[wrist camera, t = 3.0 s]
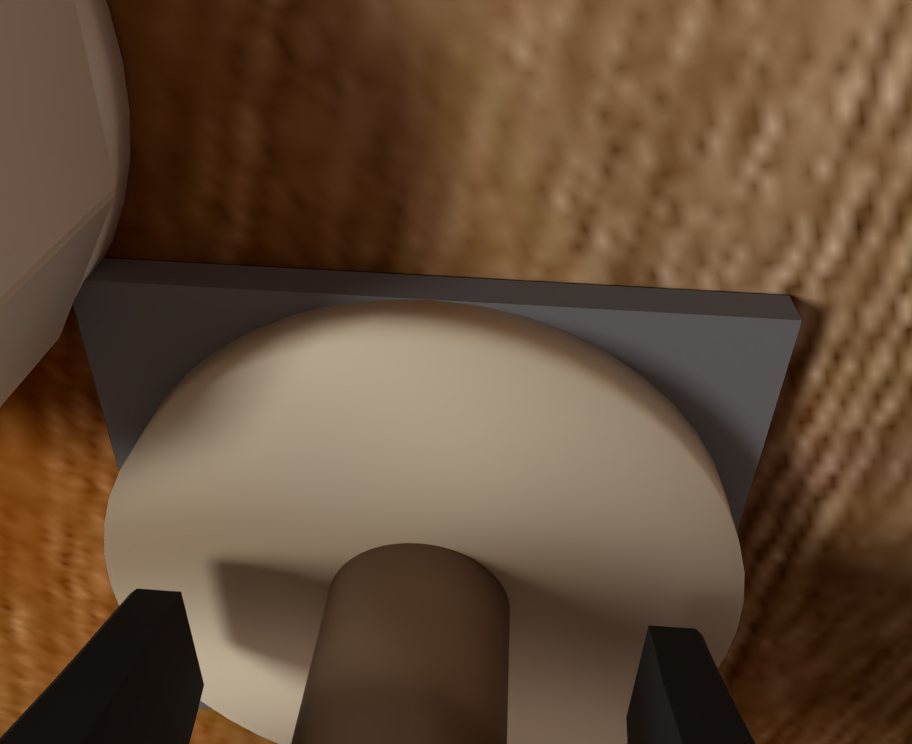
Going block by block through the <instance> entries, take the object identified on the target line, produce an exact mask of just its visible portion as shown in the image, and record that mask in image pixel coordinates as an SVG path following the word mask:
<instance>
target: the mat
mask: <svg viewBox="0 0 912 744" xmlns="http://www.w3.org/2000/svg"><path fill="white" fill-rule="evenodd" d="M380 299H428V300H437V301H445V302H454V303H463V304H471V305H478V306H482V307H487V308H491V309H495V310H500V311H504V312H508V313H512V314H517V315H521V316H524V317H527V318H530V319H533V320H536V321H538V322H541V323H544V324H547V325H550V326H552V327H555V328H558V329H561V330H563V331H566V332H568V333H570V334H572V335H574V336H576V337H578V338H580V339H582V340H584V341H586V342H588V343H590V344H592V345H594V346H596V347H598V348H600V349H602V350H604V351H606V352H608V353H610V354H611V355H612V356H614V357H615V358H617V359H618V360H620V361H621V362H623V363H624V364H626V365H627V366H629V367H630V368H632V369H633V370H635V371H636V372H638V373H639V374H641V375H642V376H643V377H645V378H646V379H647V380H648V381H649V382H650V383H651V384H652V385H654V386H655V387H656V388H657V389H658V390H659V391H660V392H661V393H662V394H664V395H665V396H666V397H667V398H668V399H669V400H670V401H671V402H672V403H673V404H674V405H675V406H676V407H677V409H678V410H679V411H680V412H681V413H682V415H683V416H684V417H685V418H686V419H687V421H688V422H689V423H690V424H691V425H692V427H693V428H694V429H695V430H696V432H697V433H698V435H699V437H700V438H701V440H702V442H703V444H704V445H705V447H706V449H707V450H708V452H709V454H710V455H711V457H712V459H713V461H714V463H715V466H716V469H717V471H718V474H719V477H720V479H721V482H722V485H723V487H724V490H725V493H726V497H727V500H728V504H729V507H730V511H731V515H732V518H733V522H734V525H735V529H736V532H737V531H738V528H739V525H740V522H741V518H742V515H743V512H744V508H745V505H746V502H747V499H748V495H749V492H750V489H751V486H752V482H753V479H754V476H755V473H756V469H757V466H758V463H759V459H760V456H761V453H762V450H763V446H764V443H765V440H766V437H767V433H768V430H769V427H770V424H771V420H772V417H773V414H774V410H775V407H776V404H777V401H778V397H779V394H780V391H781V388H782V384H783V381H784V378H785V375H786V371H787V368H788V365H789V361H790V358H791V355H792V352H793V348H794V345H795V342H796V339H797V335H798V332H799V329H800V326H801V322H802V319H801V317H800V315H799V314H798V312H797V310H796V308H795V306H794V304H793V302H792V300H791V298H790V296H788V295H770V294H752V293H733V292H715V291H697V290H679V289H660V288H642V287H624V286H606V285H587V284H569V283H551V282H532V281H514V280H496V279H478V278H459V277H441V276H423V275H404V274H386V273H368V272H350V271H331V270H313V269H295V268H277V267H258V266H240V265H222V264H203V263H185V262H167V261H149V260H130V259H112V258H104V259H103V260H102V261H101V262H100V263H99V264H98V265H97V267H96V268H95V269H94V270H93V271H92V272H91V273H90V274H89V275H88V277H87V278H86V279H85V280H84V282H83V284H82V286H81V288H80V290H79V292H78V294H77V296H76V297H75V299H74V302H73V306H74V310H75V314H76V317H77V321H78V325H79V328H80V332H81V335H82V339H83V343H84V346H85V350H86V354H87V357H88V361H89V364H90V368H91V372H92V375H93V379H94V383H95V386H96V390H97V393H98V397H99V401H100V404H101V408H102V412H103V415H104V419H105V422H106V426H107V430H108V433H109V437H110V441H111V444H112V448H113V451H114V455H115V459H116V462H117V466H118V470H119V471H120V469H121V468H122V466H123V464H124V463H125V461H126V459H127V458H128V456H129V454H130V453H131V451H132V449H133V448H134V446H135V444H136V443H137V441H138V439H139V438H140V436H141V434H142V433H143V431H144V429H145V428H146V426H147V424H148V423H149V421H150V420H151V418H152V417H153V415H154V413H155V412H156V410H157V409H158V407H159V406H160V404H161V402H162V401H163V399H164V398H165V396H166V395H167V394H168V393H169V392H170V391H171V390H172V389H173V388H174V387H175V386H176V384H177V383H178V382H179V381H180V380H181V379H182V378H183V377H184V376H185V375H186V374H187V373H188V372H189V371H190V370H191V369H193V368H194V367H195V366H196V365H198V364H199V363H200V362H202V361H203V360H204V359H205V358H207V357H208V356H209V355H211V354H212V353H213V352H214V351H216V350H217V349H219V348H221V347H222V346H224V345H226V344H228V343H230V342H231V341H233V340H235V339H237V338H239V337H240V336H242V335H244V334H246V333H248V332H249V331H251V330H254V329H256V328H259V327H262V326H264V325H267V324H269V323H272V322H275V321H277V320H280V319H282V318H285V317H288V316H290V315H294V314H298V313H302V312H306V311H310V310H315V309H319V308H323V307H327V306H331V305H337V304H345V303H354V302H362V301H371V300H380ZM198 708H207V709H212V708H211V707H209V706H208V705H206V704H205V703H203V702H202V701H200V703H199V707H198Z"/></svg>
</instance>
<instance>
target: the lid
mask: <svg viewBox="0 0 912 744" xmlns="http://www.w3.org/2000/svg"><path fill="white" fill-rule="evenodd" d="M104 552H105V560H106V565H107V570H108V574H109V579H110V583H111V586H112V589H113V591H114V594H115V596H116V599H117V601H118V604H119V606H120V605H121V603H122V602H123V601H124V600H125V599H126V598H127V596H128V595H129V594H130V593H131V592H133V591H134V590H135V589H151V590H165V591H179V592H181V593H182V597H183V601H184V605H185V609H186V613H187V617H188V621H189V625H190V629H191V634H192V638H193V642H194V646H195V650H196V654H197V658H198V662H199V666H200V670H201V674H202V678H203V682H204V688H203V692H202V695H201V699H200V701H202V702H203V703H205V704H206V705H208V706H209V707H211V708H212V709H214V710H215V711H217V712H219V713H220V714H222V715H223V716H225V717H226V718H228V719H229V720H231V721H233V722H235V723H237V724H239V725H241V726H242V727H244V728H246V729H248V730H250V731H252V732H254V733H255V734H257V735H260V736H262V737H264V738H266V739H269V740H271V741H273V742H276V743H278V744H626V743H628V742H627V722H626V716H627V712H628V708H629V704H630V700H631V696H632V692H633V688H634V683H635V679H636V675H637V671H638V667H639V663H640V659H641V654H642V650H643V646H644V642H645V638H646V634H647V630H648V626H649V625H652V626H665V627H679V628H693V629H697V630H698V631H699V632H700V633H701V634H702V635H703V637H704V640H705V642H706V644H707V647H708V649H709V651H710V653H711V656H712V658H713V660H714V662H715V664H716V666H717V669H718V667H719V666H720V664H721V663H722V661H723V660H724V658H725V657H726V655H727V652H728V650H729V648H730V646H731V643H732V641H733V639H734V637H735V634H736V632H737V629H738V625H739V621H740V617H741V612H742V608H743V604H744V579H745V572H744V567H743V561H742V555H741V549H740V543H739V539H738V536H737V532H736V529H735V525H734V522H733V518H732V515H731V511H730V507H729V504H728V500H727V497H726V493H725V490H724V487H723V485H722V482H721V479H720V477H719V474H718V471H717V469H716V466H715V463H714V461H713V459H712V457H711V455H710V454H709V452H708V450H707V449H706V447H705V445H704V444H703V442H702V440H701V438H700V437H699V435H698V433H697V432H696V430H695V429H694V428H693V427H692V425H691V424H690V423H689V422H688V421H687V419H686V418H685V417H684V416H683V415H682V413H681V412H680V411H679V410H678V409H677V407H676V406H675V405H674V404H673V403H672V402H671V401H670V400H669V399H668V398H667V397H666V396H665V395H664V394H662V393H661V392H660V391H659V390H658V389H657V388H656V387H655V386H654V385H652V384H651V383H650V382H649V381H648V380H647V379H646V378H645V377H643V376H642V375H641V374H639V373H638V372H636V371H635V370H633V369H632V368H630V367H629V366H627V365H626V364H624V363H623V362H621V361H620V360H618V359H617V358H615V357H614V356H612V355H611V354H610V353H608V352H606V351H604V350H602V349H600V348H598V347H596V346H594V345H592V344H590V343H588V342H586V341H584V340H582V339H580V338H578V337H576V336H574V335H572V334H570V333H568V332H566V331H563V330H561V329H558V328H555V327H552V326H550V325H547V324H544V323H541V322H538V321H536V320H533V319H530V318H527V317H524V316H521V315H517V314H512V313H508V312H504V311H500V310H495V309H491V308H487V307H482V306H478V305H471V304H463V303H454V302H445V301H437V300H428V299H380V300H371V301H362V302H354V303H345V304H337V305H331V306H327V307H323V308H319V309H315V310H310V311H306V312H302V313H298V314H294V315H290V316H288V317H285V318H282V319H280V320H277V321H275V322H272V323H269V324H267V325H264V326H262V327H259V328H256V329H254V330H251V331H249V332H248V333H246V334H244V335H242V336H240V337H239V338H237V339H235V340H233V341H231V342H230V343H228V344H226V345H224V346H222V347H221V348H219V349H217V350H216V351H214V352H213V353H212V354H211V355H209V356H208V357H207V358H205V359H204V360H203V361H202V362H200V363H199V364H198V365H196V366H195V367H194V368H193V369H191V370H190V371H189V372H188V373H187V374H186V375H185V376H184V377H183V378H182V379H181V380H180V381H179V382H178V383H177V384H176V386H175V387H174V388H173V389H172V390H171V391H170V392H169V393H168V394H167V395H166V396H165V398H164V399H163V401H162V402H161V404H160V406H159V407H158V409H157V410H156V412H155V413H154V415H153V417H152V418H151V420H150V421H149V423H148V424H147V426H146V428H145V429H144V431H143V433H142V434H141V436H140V438H139V439H138V441H137V443H136V444H135V446H134V448H133V449H132V451H131V453H130V454H129V456H128V458H127V459H126V461H125V463H124V464H123V466H122V468H121V469H120V471H119V474H118V476H117V479H116V482H115V484H114V487H113V489H112V492H111V494H110V497H109V500H108V506H107V512H106V518H105V524H104Z"/></svg>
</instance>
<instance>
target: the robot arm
mask: <svg viewBox="0 0 912 744" xmlns="http://www.w3.org/2000/svg"><path fill="white" fill-rule="evenodd" d="M203 688H204V682H203V678H202V674H201V670H200V666H199V662H198V658H197V654H196V650H195V646H194V642H193V638H192V634H191V629H190V625H189V621H188V617H187V613H186V609H185V605H184V601H183V597H182V593H181V592H179V591H165V590H151V589H135V590H134V591H133V592H131V593H130V594H129V595H128V596H127V598H126V599H125V600H124V601H123V602H122V603H121V605H120V606H119V607H118V608H117V609H116V610H115V612H114V613H113V614H112V615H111V616H110V617H109V618H108V620H107V621H106V622H105V623H104V624H103V625H102V627H101V628H100V629H99V630H98V631H97V632H96V633H95V635H94V636H93V637H92V638H91V639H90V640H89V642H88V643H87V644H86V645H85V646H84V647H83V648H82V649H81V651H80V652H79V653H78V654H77V655H76V656H75V657H74V659H73V660H72V661H71V662H70V663H69V664H68V665H67V666H66V667H65V669H64V670H63V671H62V672H61V673H60V674H59V675H58V676H57V678H56V679H55V680H54V681H53V682H52V683H51V684H50V685H49V686H48V687H47V688H46V690H45V691H44V692H43V693H42V694H41V695H40V696H39V697H38V698H37V699H36V700H35V701H34V702H33V703H32V705H31V706H30V707H29V708H28V709H27V710H26V711H25V712H24V713H23V714H22V715H21V716H20V717H19V718H18V720H17V721H16V722H15V723H14V724H13V725H12V726H11V727H10V728H9V729H8V730H7V731H6V732H5V733H4V735H3V736H2V737H1V738H0V744H189V741H190V738H191V734H192V730H193V727H194V723H195V719H196V715H197V711H198V707H199V703H200V699H201V695H202V692H203ZM626 722H627V742H628V744H755V742H754V741H753V739H752V737H751V735H750V733H749V731H748V729H747V727H746V725H745V723H744V721H743V719H742V717H741V715H740V714H739V712H738V710H737V708H736V706H735V704H734V702H733V700H732V698H731V696H730V694H729V692H728V690H727V688H726V686H725V683H724V681H723V679H722V677H721V675H720V673H719V671H718V669H717V666H716V664H715V662H714V660H713V658H712V656H711V653H710V651H709V649H708V647H707V644H706V642H705V640H704V637H703V635H702V634H701V633H700V632H699V631H698V630H697V629H693V628H679V627H665V626H652V625H649V626H648V630H647V634H646V638H645V642H644V646H643V650H642V654H641V659H640V663H639V667H638V671H637V675H636V679H635V683H634V688H633V692H632V696H631V700H630V704H629V708H628V712H627V716H626Z"/></svg>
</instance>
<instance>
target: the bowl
mask: <svg viewBox="0 0 912 744" xmlns="http://www.w3.org/2000/svg"><path fill="white" fill-rule="evenodd" d="M129 166H130V110H129V103H128V95H127V88H126V81H125V73H124V66H123V60H122V56H121V53H120V49H119V45H118V41H117V37H116V33H115V29H114V26H113V22H112V18H111V14H110V10H109V6H108V4H107V1H106V0H0V407H1V406H2V405H3V403H4V402H5V401H6V400H7V399H8V397H9V396H10V395H11V394H12V393H13V392H14V390H15V389H16V388H17V387H18V386H19V385H20V383H21V382H22V381H23V380H24V379H25V378H26V376H27V375H28V374H29V373H30V372H31V371H32V369H33V368H34V367H35V366H36V365H37V363H38V362H39V361H40V360H41V359H42V358H43V356H44V355H45V354H46V353H47V352H48V351H49V349H50V348H51V347H52V346H53V345H54V344H55V342H56V341H57V340H58V339H59V338H60V335H61V333H62V330H63V327H64V325H65V322H66V320H67V317H68V315H69V312H70V310H71V307H72V305H73V302H74V299H75V297H76V296H77V294H78V292H79V290H80V288H81V286H82V284H83V282H84V280H85V279H86V278H87V277H88V275H89V274H90V273H91V272H92V271H93V270H94V269H95V268H96V267H97V265H98V264H99V263H100V262H101V261H102V260H103V259H104V257H105V255H106V254H107V252H108V250H109V248H110V246H111V244H112V242H113V239H114V235H115V232H116V229H117V226H118V222H119V219H120V216H121V213H122V209H123V206H124V202H125V195H126V188H127V181H128V174H129Z"/></svg>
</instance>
